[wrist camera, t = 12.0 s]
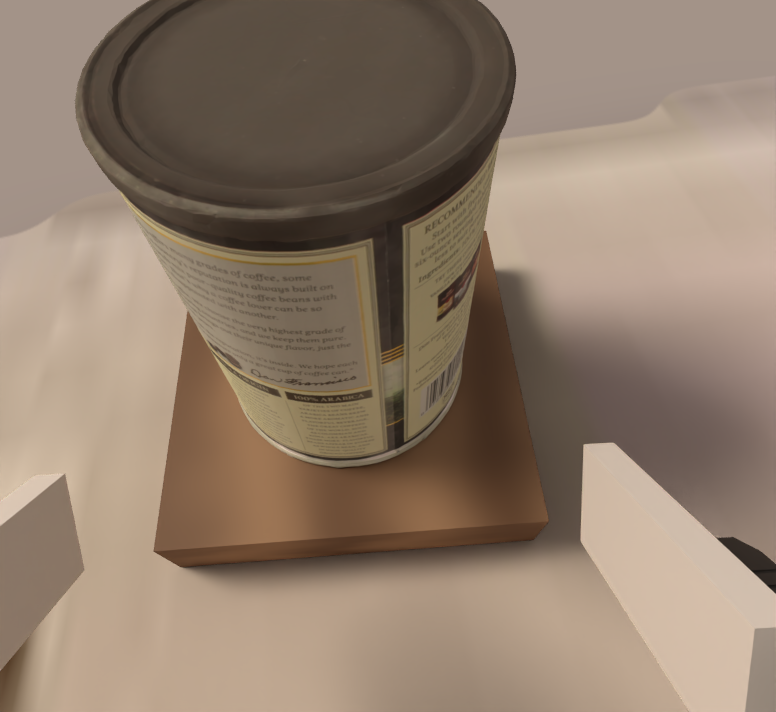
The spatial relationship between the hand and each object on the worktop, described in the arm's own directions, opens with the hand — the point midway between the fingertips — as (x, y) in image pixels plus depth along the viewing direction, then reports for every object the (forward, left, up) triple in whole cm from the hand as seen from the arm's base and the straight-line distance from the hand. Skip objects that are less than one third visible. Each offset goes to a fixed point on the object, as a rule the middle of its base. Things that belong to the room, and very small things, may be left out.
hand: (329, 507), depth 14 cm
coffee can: (0, -9, -8) cm, 12 cm away
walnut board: (0, -9, -11) cm, 14 cm away
